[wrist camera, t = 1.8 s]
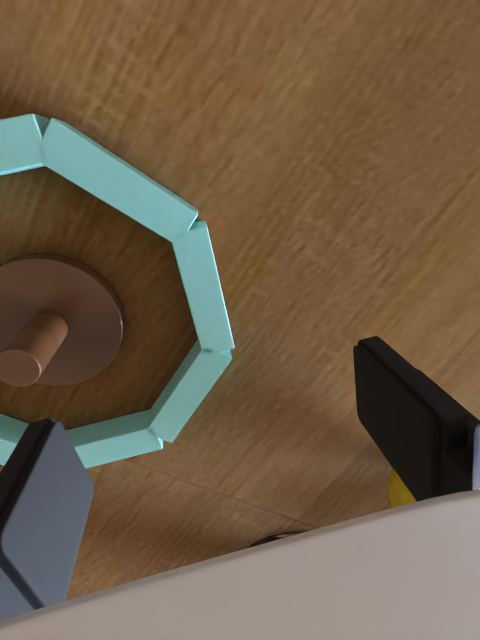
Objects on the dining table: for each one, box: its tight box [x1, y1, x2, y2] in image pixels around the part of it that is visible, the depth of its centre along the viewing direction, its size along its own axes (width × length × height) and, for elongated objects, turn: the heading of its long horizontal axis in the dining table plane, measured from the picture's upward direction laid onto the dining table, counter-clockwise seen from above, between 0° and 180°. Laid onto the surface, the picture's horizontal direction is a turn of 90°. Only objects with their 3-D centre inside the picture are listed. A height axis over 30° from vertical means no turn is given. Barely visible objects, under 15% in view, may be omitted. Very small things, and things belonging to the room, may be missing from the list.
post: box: [0, 253, 125, 387], centre depth 19 cm, size 8×8×6 cm
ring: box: [0, 113, 234, 468], centre depth 20 cm, size 20×20×2 cm
